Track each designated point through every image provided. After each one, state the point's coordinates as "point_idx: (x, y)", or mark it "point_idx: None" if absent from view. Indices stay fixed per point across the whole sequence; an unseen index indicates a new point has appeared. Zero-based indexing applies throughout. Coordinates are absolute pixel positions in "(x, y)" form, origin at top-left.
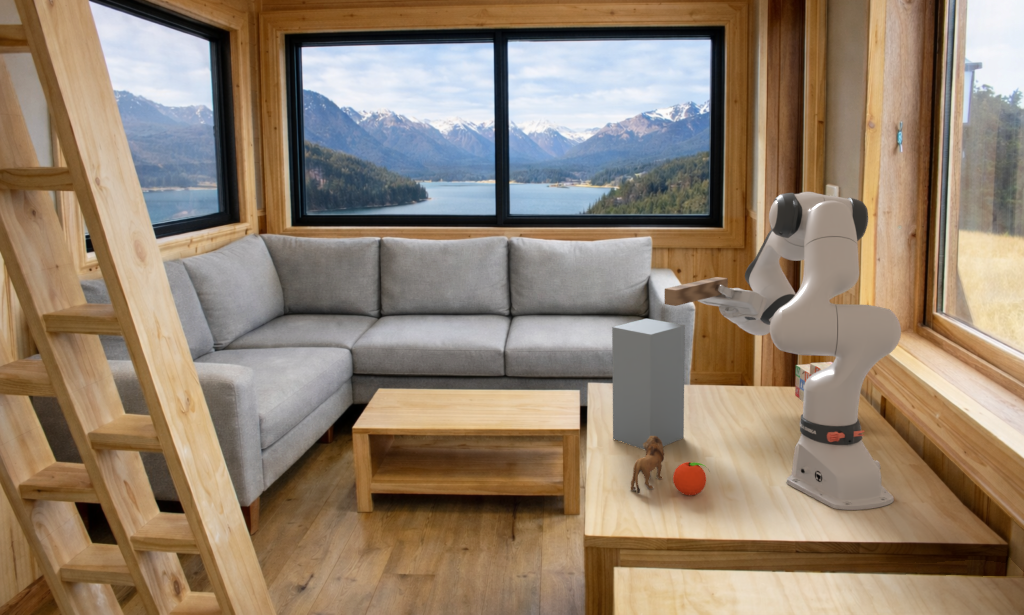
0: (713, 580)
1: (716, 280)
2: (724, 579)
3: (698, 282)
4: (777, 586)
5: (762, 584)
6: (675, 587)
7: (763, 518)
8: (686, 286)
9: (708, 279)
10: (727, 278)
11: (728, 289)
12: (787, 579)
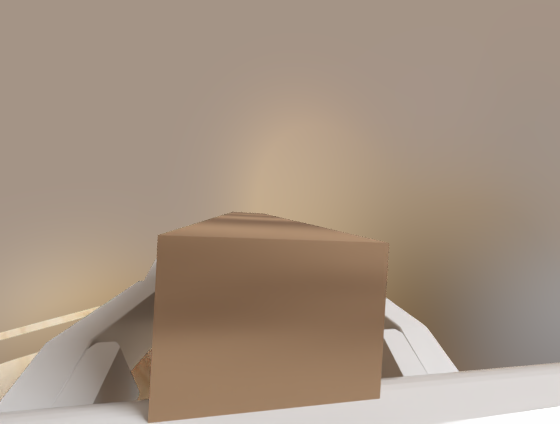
0: (75, 315)
1: (218, 219)
2: (67, 317)
3: (259, 216)
4: (24, 326)
5: (37, 323)
6: (99, 306)
7: (15, 377)
8: (241, 213)
9: (289, 222)
10: (161, 237)
11: (100, 319)
12: (13, 332)
